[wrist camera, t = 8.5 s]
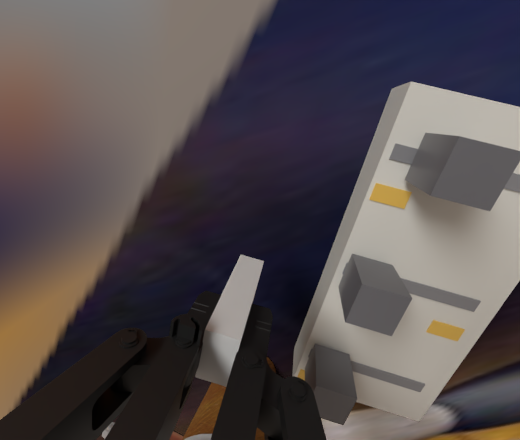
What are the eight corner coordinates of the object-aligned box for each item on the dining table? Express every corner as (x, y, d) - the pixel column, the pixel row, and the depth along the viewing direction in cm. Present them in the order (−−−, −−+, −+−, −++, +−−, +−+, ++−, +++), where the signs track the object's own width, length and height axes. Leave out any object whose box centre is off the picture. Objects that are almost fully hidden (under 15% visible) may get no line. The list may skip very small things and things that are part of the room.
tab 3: (475, 145, 16) (525, 152, 13) (451, 192, 17) (489, 211, 14) (425, 132, 16) (459, 135, 13) (404, 179, 18) (430, 195, 14)
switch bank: (562, 129, 19) (627, 132, 15) (404, 382, 29) (419, 423, 25) (391, 88, 20) (411, 81, 16) (294, 348, 29) (292, 382, 26)
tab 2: (392, 265, 20) (412, 298, 16) (376, 297, 21) (391, 336, 17) (351, 253, 20) (362, 283, 16) (338, 286, 21) (344, 322, 17)
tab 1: (349, 354, 23) (357, 398, 19) (337, 378, 24) (343, 425, 20) (314, 343, 23) (316, 385, 20) (304, 367, 24) (304, 412, 21)
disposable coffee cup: (274, 330, 29) (254, 460, 18) (300, 395, 32) (296, 544, 20) (197, 342, 31) (136, 464, 20) (226, 402, 34) (187, 538, 23)
